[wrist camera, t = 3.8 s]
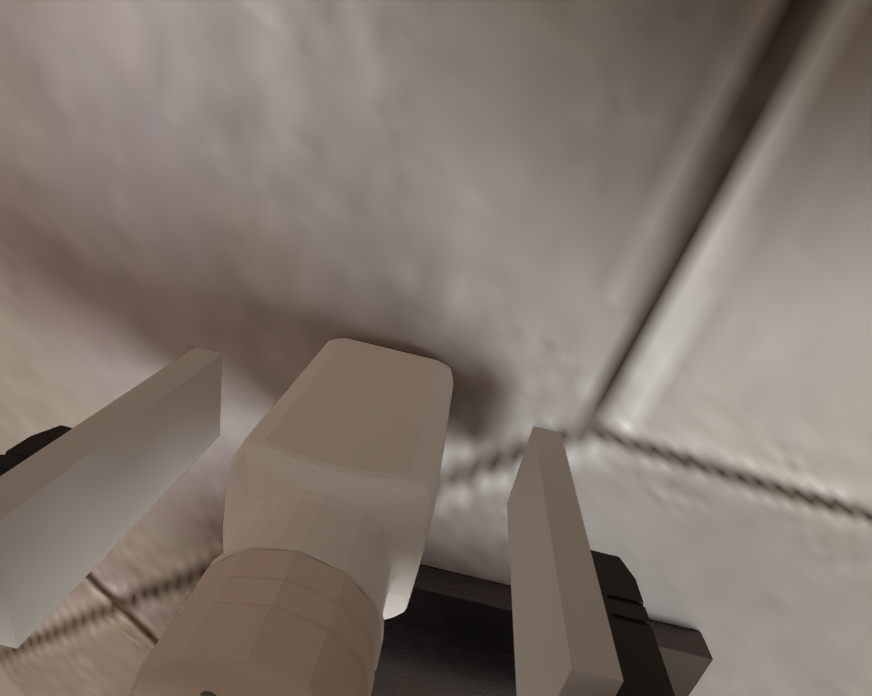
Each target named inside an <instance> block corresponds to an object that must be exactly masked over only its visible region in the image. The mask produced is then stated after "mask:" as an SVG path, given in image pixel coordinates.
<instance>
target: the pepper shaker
mask: <svg viewBox="0 0 872 696" xmlns="http://www.w3.org/2000/svg"><path fill="white" fill-rule="evenodd" d="M453 385H454V383H453V378H452V372H451V369H450V368H449V366H447V365H445V364H443V363H442V362H440V361H438V360H434V359H430V358H426V357H422V356H418V355H414V354H410V353H406V352H401V351H397V350H393V349H389V348H385V347H381V346H377V345H373V344H369V343H364V342H360V341H356V340H352V339H348V338H342V339H332V340H329V341H328V342H327V343H326V345H325V346H324V347H323V348H322V349H321V350H320V352H319V353H318V354H317V355H316V356H315V358H314V359H313V360H312V361H311V362H310V363H309V365H308V366H307V367H306V368H305V369H304V371H303V372H302V373H301V374H300V375H299V376H298V378H297V379H296V380H295V381H294V382H293V383H292V385H291V386H290V387H289V388H288V389H287V391H286V392H285V393H284V394H283V395H282V396H281V398H280V399H279V400H278V401H277V402H276V403H275V405H274V406H273V407H272V408H271V409H270V411H269V412H268V413H267V414H266V415H265V416H264V418H263V419H262V420H261V421H260V422H259V423H258V425H257V426H256V427H255V428H254V429H253V431H252V432H251V433H250V434H249V435H248V436H247V438H246V439H245V440H244V442H243V443H242V445H241V446H240V448H239V449H238V451H237V452H236V454H235V455H234V457H233V459H232V462H231V467H230V473H229V479H228V485H227V491H226V497H225V509H224V520H223V554H222V555H220V556H219V557H217V558H216V559H214V560H213V561H212V563H211V564H210V565H209V567H208V568H207V570H206V571H205V573H204V574H203V576H202V577H201V579H200V580H199V582H198V583H197V585H196V586H195V588H194V590H193V592H192V594H191V595H189V597H188V598H187V599H186V601H185V602H184V604H183V605H182V607H181V608H180V610H179V611H178V613H177V615H176V617H175V620H174V621H172V622H171V623H170V625H169V626H168V628H167V629H166V631H165V632H164V633H163V635H162V636H161V638H160V639H159V641H158V642H157V644H156V645H155V647H154V648H153V650H152V651H151V653H150V654H149V656H148V657H147V659H146V660H145V661H144V663H143V664H142V666H141V667H140V669H139V672H138V674H137V677H136V679H135V682H134V684H133V687H132V689H131V692H130V694H129V696H371V692H372V687H373V683H374V678H375V677H374V672H375V671H376V669H377V665H378V660H379V656H380V651H381V647H382V641H383V634H384V620H385V619H389V618H392V617H395V616H397V615H399V614H401V613H403V612H404V611H405V610H406V608H407V605H408V602H409V599H410V596H411V593H412V589H413V586H414V583H415V579H416V576H417V572H418V569H419V565H420V561H421V558H422V554H423V550H424V547H425V543H426V539H427V535H428V531H429V527H430V523H431V519H432V515H433V512H434V508H435V502H436V495H437V489H438V482H439V476H440V469H441V463H442V456H443V450H444V443H445V437H446V430H447V424H448V417H449V411H450V404H451V398H452V391H453Z"/></svg>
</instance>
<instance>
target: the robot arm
mask: <svg viewBox="0 0 872 696" xmlns="http://www.w3.org/2000/svg"><path fill="white" fill-rule="evenodd" d="M221 376H222V353H218V352H214V351H210V350H206V349H201V348H197V347H195V348H193V349H192V350H190V351H189V352H187V353H186V354H184V355H183V356H181V357H180V358H178V359H177V360H175V361H174V362H172V363H171V364H169V365H168V366H166V367H165V368H163V369H162V370H160V371H159V372H157V373H156V374H154V375H153V376H151V377H150V378H148V379H147V380H145V381H144V382H142V383H140V384H139V385H137V386H136V387H134V388H133V389H131V390H130V391H128V392H127V393H125V394H124V395H122V396H121V397H119V398H118V399H116V400H115V401H113V402H112V403H110V404H109V405H107V406H106V407H104V408H103V409H101V410H100V411H98V412H97V413H95V414H94V415H92V416H91V417H89V418H88V419H86V420H85V421H83V422H82V423H80V424H79V425H77V426H76V427H74V428H70V427H66V426H58V427H55V428H52V429H50V430H47V431H44V432H41V433H38V434H36V435H33V436H30V437H29V438H27V439H26V440H24V441H22V442H21V443H19V444H17V445H16V446H14V447H13V448H11V449H9V450H8V451H6V454H5V455H2V454H1V455H0V645H4V646H8V647H13V648H18V647H19V646H20V645H21V644H22V643H23V642H24V641H25V640H26V639H27V638H28V637H29V636H30V635H31V634H32V633H33V631H34V630H35V629H36V628H37V627H38V626H39V625H40V624H41V623H42V622H43V621H44V620H45V619H46V618H47V617H48V616H49V615H50V614H51V613H52V611H53V610H54V609H55V608H56V607H57V606H58V605H59V604H60V603H61V602H62V601H63V600H64V599H65V598H66V597H67V596H68V595H69V594H70V593H71V592H72V590H73V589H74V588H75V587H76V586H77V585H78V584H79V583H80V582H81V581H82V580H83V579H84V578H85V577H86V576H87V575H88V574H89V573H90V572H91V571H92V569H93V568H94V567H95V566H96V565H97V564H98V563H99V562H100V561H101V560H102V559H103V558H104V557H105V556H106V555H107V554H108V553H109V552H110V551H111V550H112V548H113V547H114V546H115V545H116V544H117V543H118V542H119V541H120V540H121V539H122V538H123V537H124V536H125V535H126V534H127V533H128V532H129V531H130V530H131V529H132V527H133V526H134V525H135V524H136V523H137V522H138V521H139V520H140V519H141V518H142V517H143V516H144V515H145V514H146V513H147V512H148V511H149V510H150V509H151V507H152V506H153V505H154V504H155V503H156V502H157V501H158V500H159V499H160V498H161V497H162V496H163V495H164V494H165V493H166V492H167V491H168V490H169V489H170V488H171V486H172V485H173V484H174V483H175V482H176V481H177V480H178V479H179V478H180V477H181V476H182V475H183V474H184V473H185V472H186V471H187V470H188V469H189V468H190V467H191V465H192V464H193V463H194V462H195V461H196V460H197V459H198V458H199V457H200V456H201V455H202V454H203V453H204V452H205V451H206V450H207V449H208V448H209V447H210V446H211V444H212V443H213V442H214V441H215V440H216V439H217V438H218V437H219V436H220V410H221ZM507 513H508V533H509V553H510V573H511V594H512V614H513V634H514V655H515V675H516V695H517V696H675V694H674V691H673V688H672V685H671V682H670V679H669V676H668V673H667V670H666V667H665V665H664V662H663V659H662V656H661V653H660V650H659V647H658V644H657V641H656V638H655V635H654V632H653V629H652V627H650V621H649V618H648V615H647V612H646V609H645V607H643V600H642V597H641V594H640V591H639V588H638V585H637V582H636V579H635V578H634V577H633V575H632V574H631V573H630V571H629V570H628V568H627V567H626V566H625V564H624V563H623V562H622V560H621V559H620V558H619V557H617V556H613V555H609V554H604V553H600V552H596V551H592V550H590V546H589V542H588V538H587V534H586V530H585V526H584V523H583V519H582V515H581V511H580V507H579V503H578V499H577V495H576V491H575V487H574V483H573V479H572V475H571V471H570V467H569V463H568V459H567V455H566V451H565V447H564V443H563V440H562V436H561V433H559V432H555V431H551V430H547V429H542V428H538V427H534V426H533V429H532V432H531V435H530V438H529V441H528V444H527V447H526V450H525V453H524V456H523V459H522V461H521V464H520V467H519V470H518V473H517V476H516V479H515V482H514V485H513V488H512V491H511V494H510V497H509V500H508V503H507Z"/></svg>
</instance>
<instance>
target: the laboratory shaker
mask: <svg viewBox="0 0 872 696" xmlns="http://www.w3.org/2000/svg"><path fill="white" fill-rule="evenodd" d="M649 621H650V627H652V629H653V632H654V635H655V638H656V641H657V644H658V647H659V650H660V653H661V656H662V659H663V662H664V665H665V667H666V670H667V673H668V676H669V679H670V682H671V685H672V688H673V691H674V694H675V696H689V694H690V693H691V691H692V690H693V688H694V687H695V685H696V684H697V682H698V681H699V679H700V678H701V676H702V675H703V673H704V672H705V670H706V669H707V667H708V666H709V664H710V663H711V661H712V660H713V659H712V656H711V654H710V652H709V650H708V647H707V645H706V643H705V640H704V638H703V636H702V634H701V632H697V631H693V630H688V629H684V628H680V627H676V626H672V625H668V624H663V623H659V622H655V621H651V620H649ZM374 677H375V678H374V683H373V687H372V692H371V696H517V695H516V675H515V655H514V634H513V614H512V594H511V587H510V586H506V585H501V584H497V583H493V582H489V581H485V580H481V579H477V578H472V577H468V576H464V575H460V574H456V573H452V572H447V571H443V570H439V569H435V568H431V567H427V566H422V565H419V569H418V572H417V576H416V579H415V583H414V586H413V589H412V593H411V596H410V599H409V602H408V605H407V608H406V610H405V611H404V612H403V613H401V614H399V615H397V616H395V617H392V618H389V619H385V620H384V634H383V641H382V647H381V651H380V656H379V660H378V665H377V669H376V671H375V672H374Z"/></svg>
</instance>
